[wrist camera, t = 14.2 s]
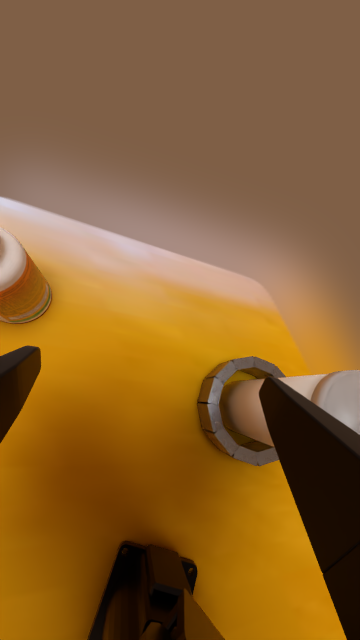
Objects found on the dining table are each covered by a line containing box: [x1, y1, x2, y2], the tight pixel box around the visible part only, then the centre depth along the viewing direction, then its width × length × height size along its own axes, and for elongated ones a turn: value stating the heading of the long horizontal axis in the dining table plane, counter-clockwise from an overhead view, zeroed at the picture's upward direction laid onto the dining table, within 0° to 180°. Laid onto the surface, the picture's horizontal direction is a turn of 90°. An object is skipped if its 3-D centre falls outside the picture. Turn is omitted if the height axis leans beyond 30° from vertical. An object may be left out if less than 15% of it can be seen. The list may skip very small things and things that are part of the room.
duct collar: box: [197, 356, 285, 466], centre depth 22 cm, size 9×9×3 cm
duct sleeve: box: [219, 370, 360, 447], centre depth 17 cm, size 5×5×13 cm
